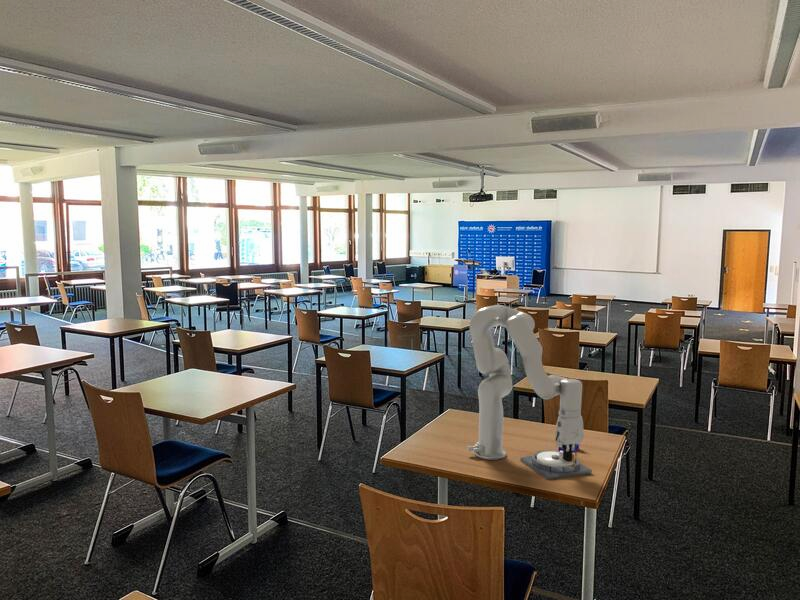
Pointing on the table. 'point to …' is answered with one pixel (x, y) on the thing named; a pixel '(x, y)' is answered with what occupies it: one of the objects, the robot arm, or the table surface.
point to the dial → (554, 458)
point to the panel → (556, 474)
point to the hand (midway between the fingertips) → (567, 460)
